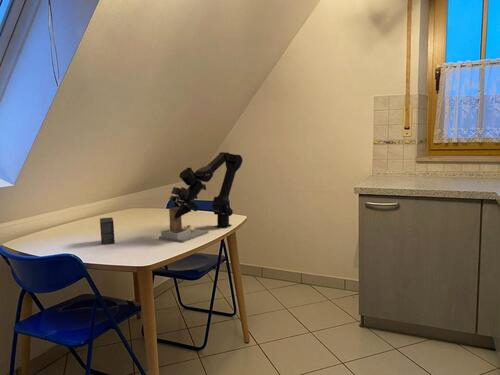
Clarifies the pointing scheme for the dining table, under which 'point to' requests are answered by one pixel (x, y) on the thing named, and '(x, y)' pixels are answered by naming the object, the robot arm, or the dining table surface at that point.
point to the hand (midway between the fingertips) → (172, 217)
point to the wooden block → (175, 220)
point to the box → (107, 230)
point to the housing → (182, 234)
